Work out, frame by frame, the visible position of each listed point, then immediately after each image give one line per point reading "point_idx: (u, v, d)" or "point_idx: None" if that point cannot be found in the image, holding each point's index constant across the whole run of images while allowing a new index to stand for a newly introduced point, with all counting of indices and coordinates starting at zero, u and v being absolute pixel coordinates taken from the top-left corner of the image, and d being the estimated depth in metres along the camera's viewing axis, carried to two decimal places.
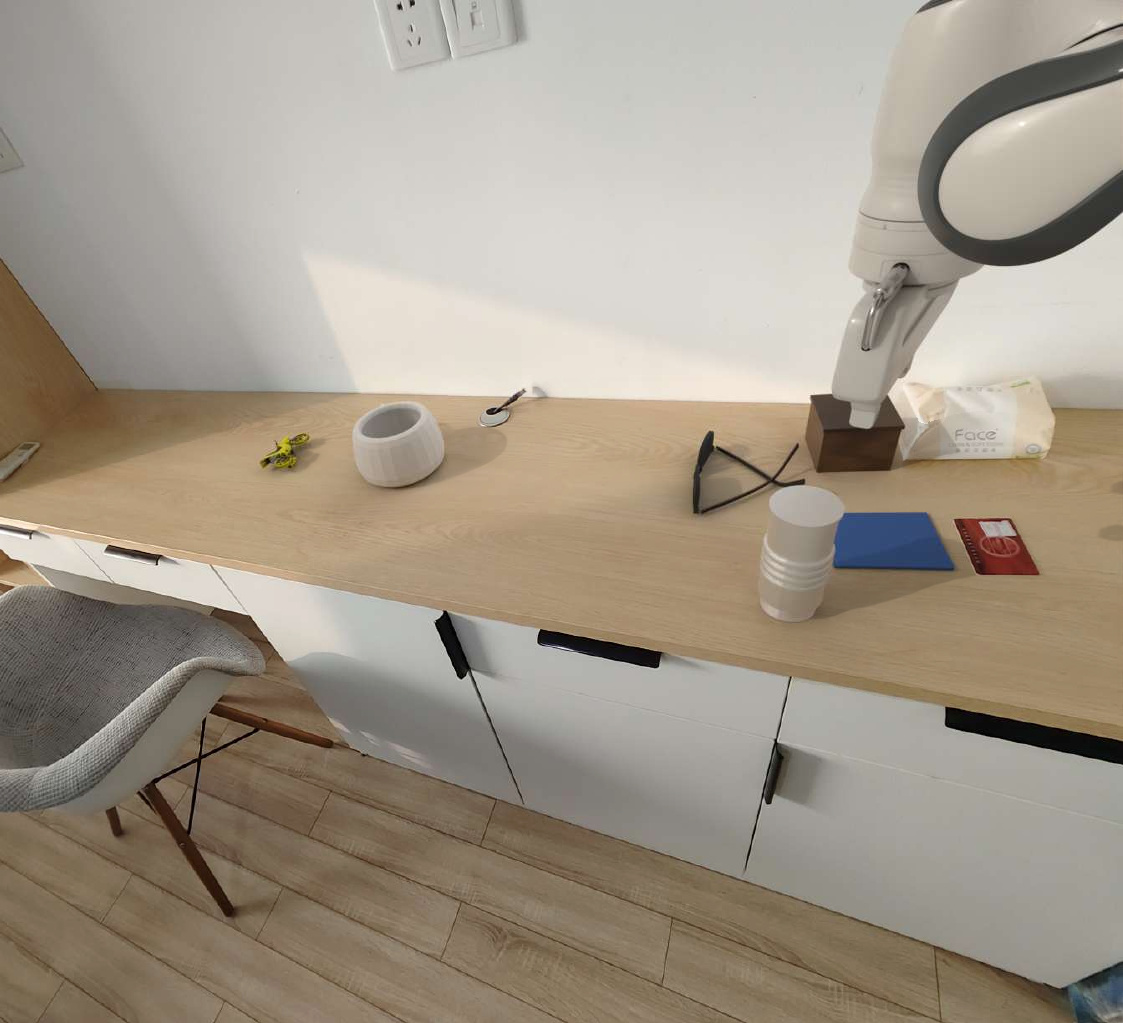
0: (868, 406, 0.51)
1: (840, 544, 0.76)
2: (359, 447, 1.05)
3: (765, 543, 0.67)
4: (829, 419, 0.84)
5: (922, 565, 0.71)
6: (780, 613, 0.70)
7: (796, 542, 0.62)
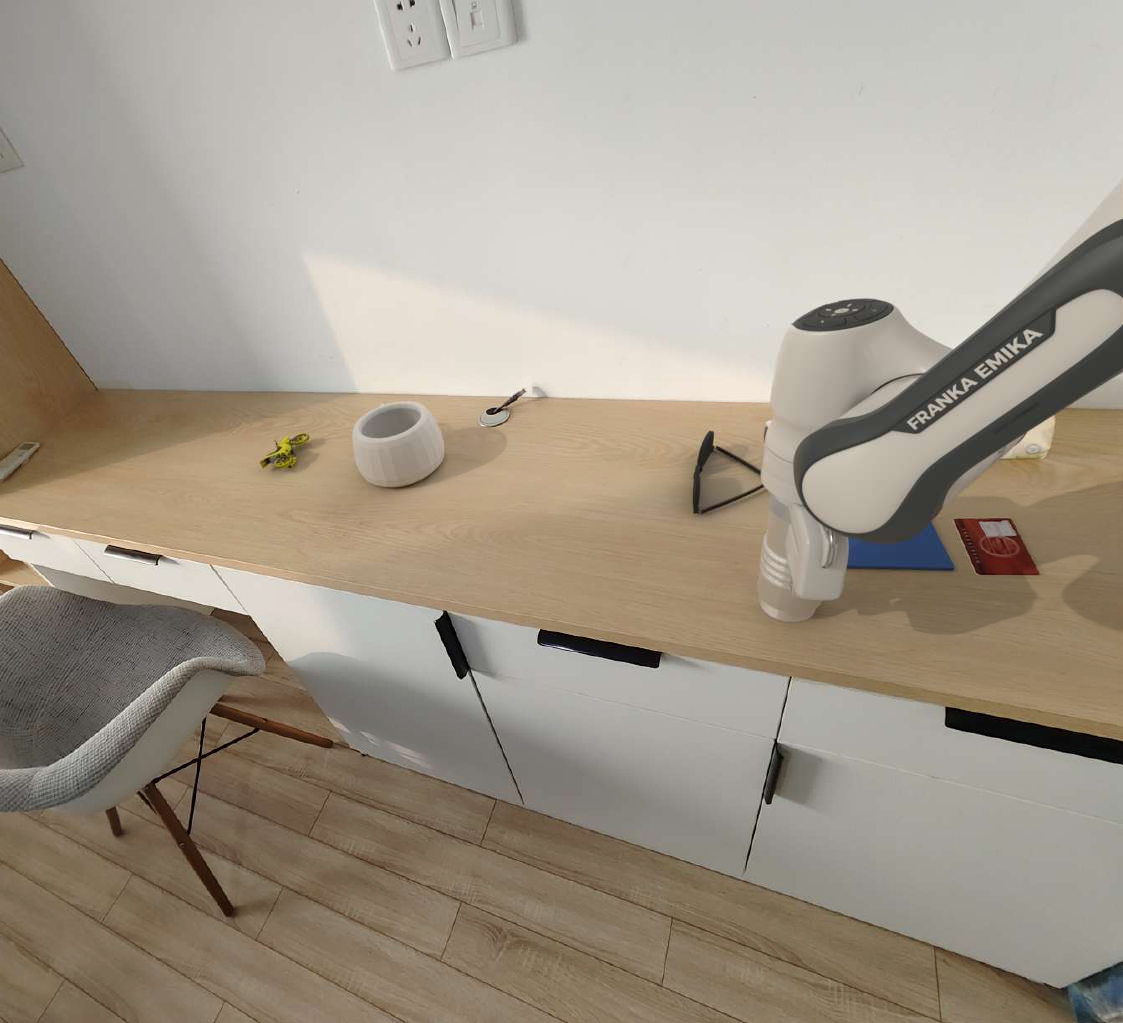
0: None
1: None
2: (359, 447, 1.05)
3: (765, 543, 0.67)
4: None
5: (922, 565, 0.71)
6: (780, 613, 0.70)
7: None
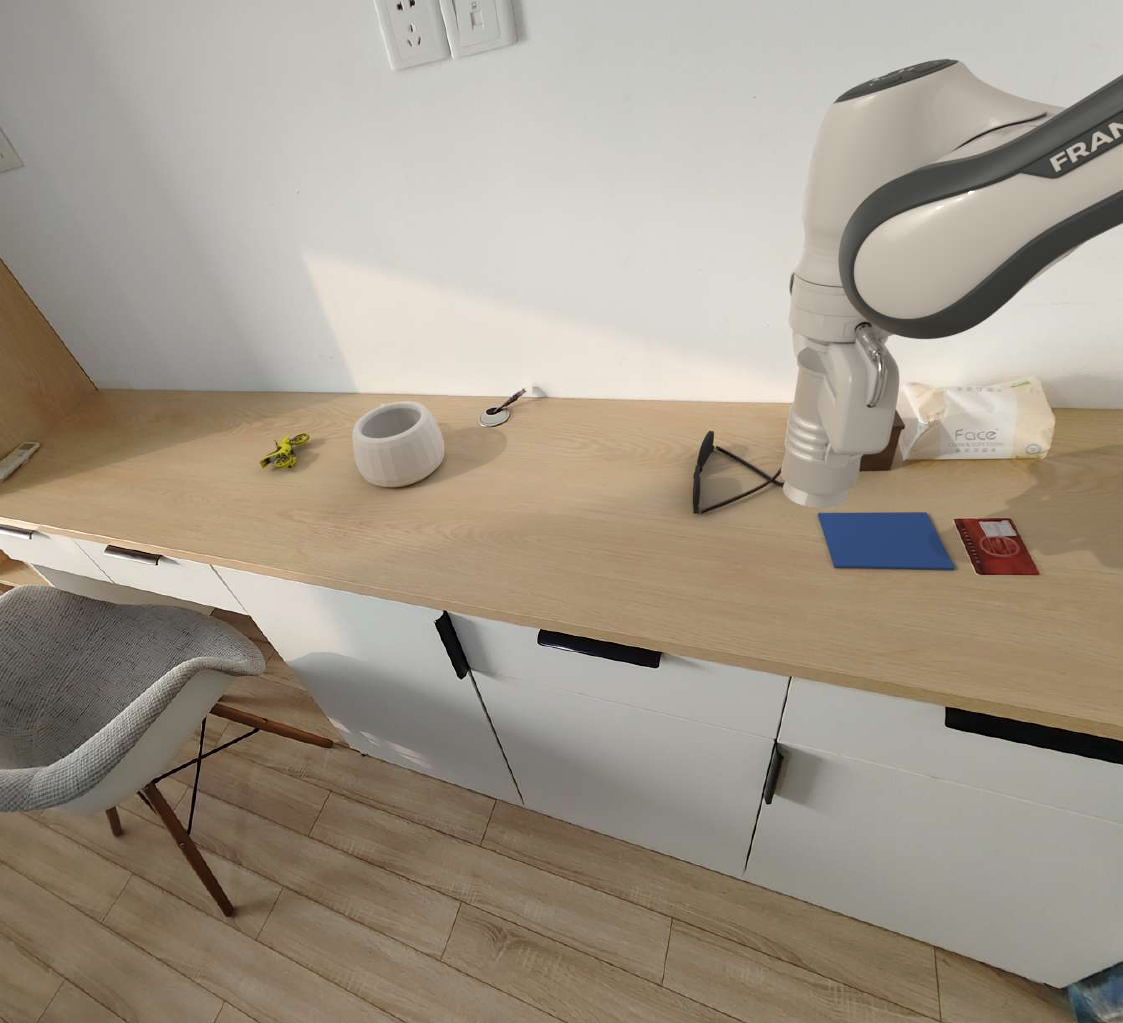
0: None
1: (840, 544, 0.76)
2: (359, 447, 1.05)
3: (792, 412, 0.58)
4: None
5: (922, 565, 0.71)
6: (808, 498, 0.61)
7: None
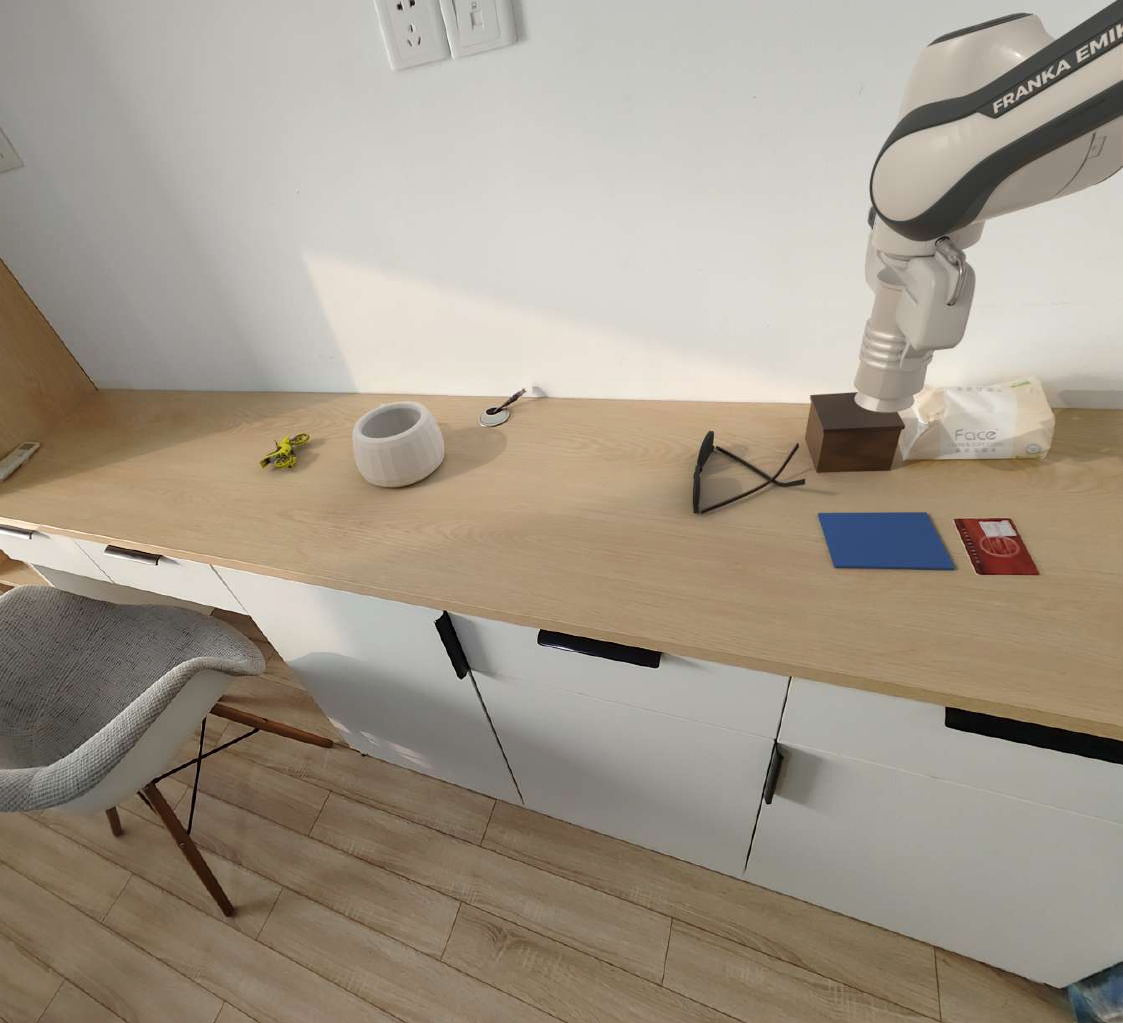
0: (921, 352, 0.63)
1: (840, 544, 0.76)
2: (359, 447, 1.05)
3: (869, 326, 0.68)
4: (829, 419, 0.84)
5: (922, 565, 0.71)
6: (879, 404, 0.71)
7: None
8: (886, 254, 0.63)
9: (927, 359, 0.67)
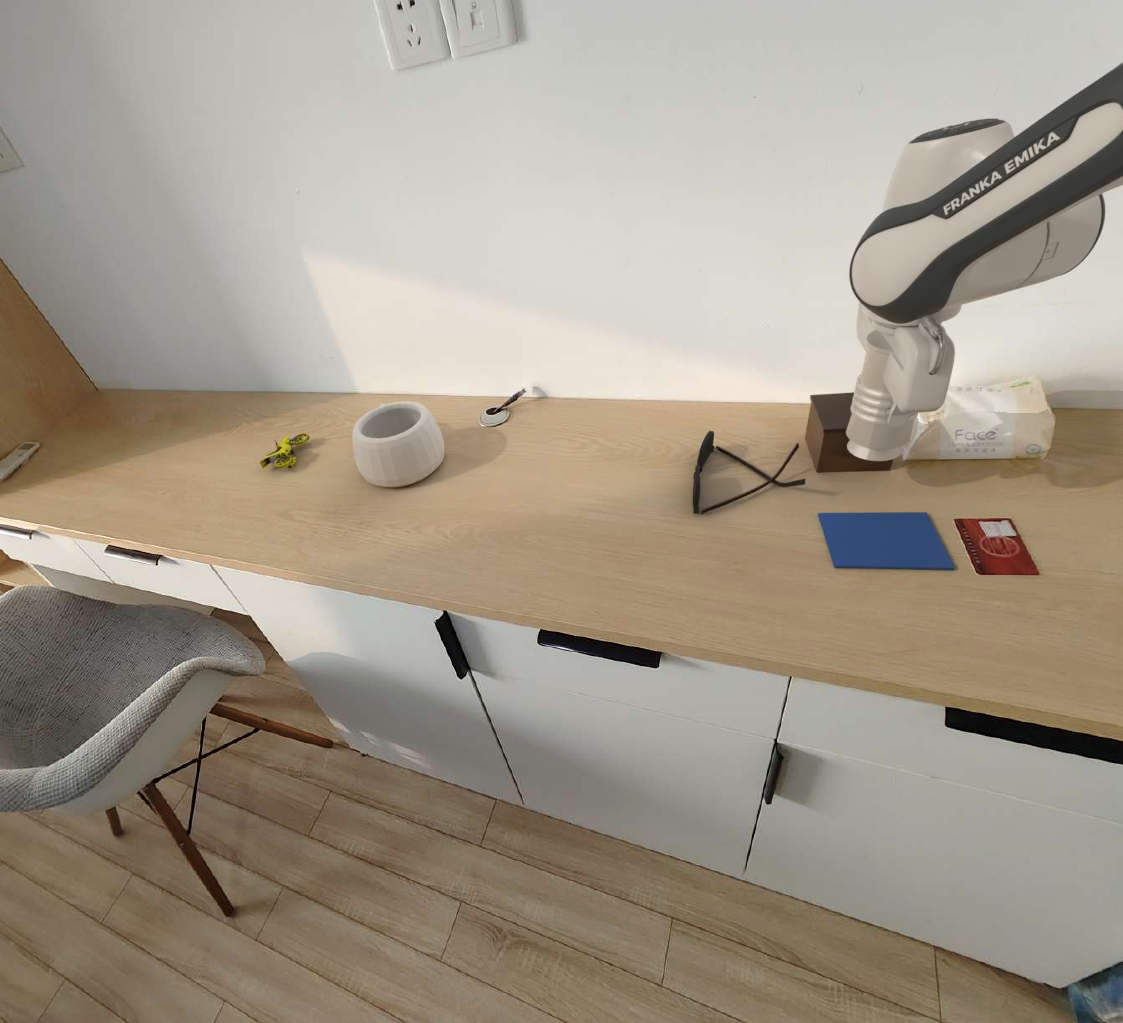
0: None
1: (840, 544, 0.76)
2: (359, 447, 1.05)
3: (859, 383, 0.73)
4: (829, 419, 0.84)
5: (922, 565, 0.71)
6: (869, 453, 0.76)
7: None
8: (875, 320, 0.68)
9: (913, 414, 0.72)
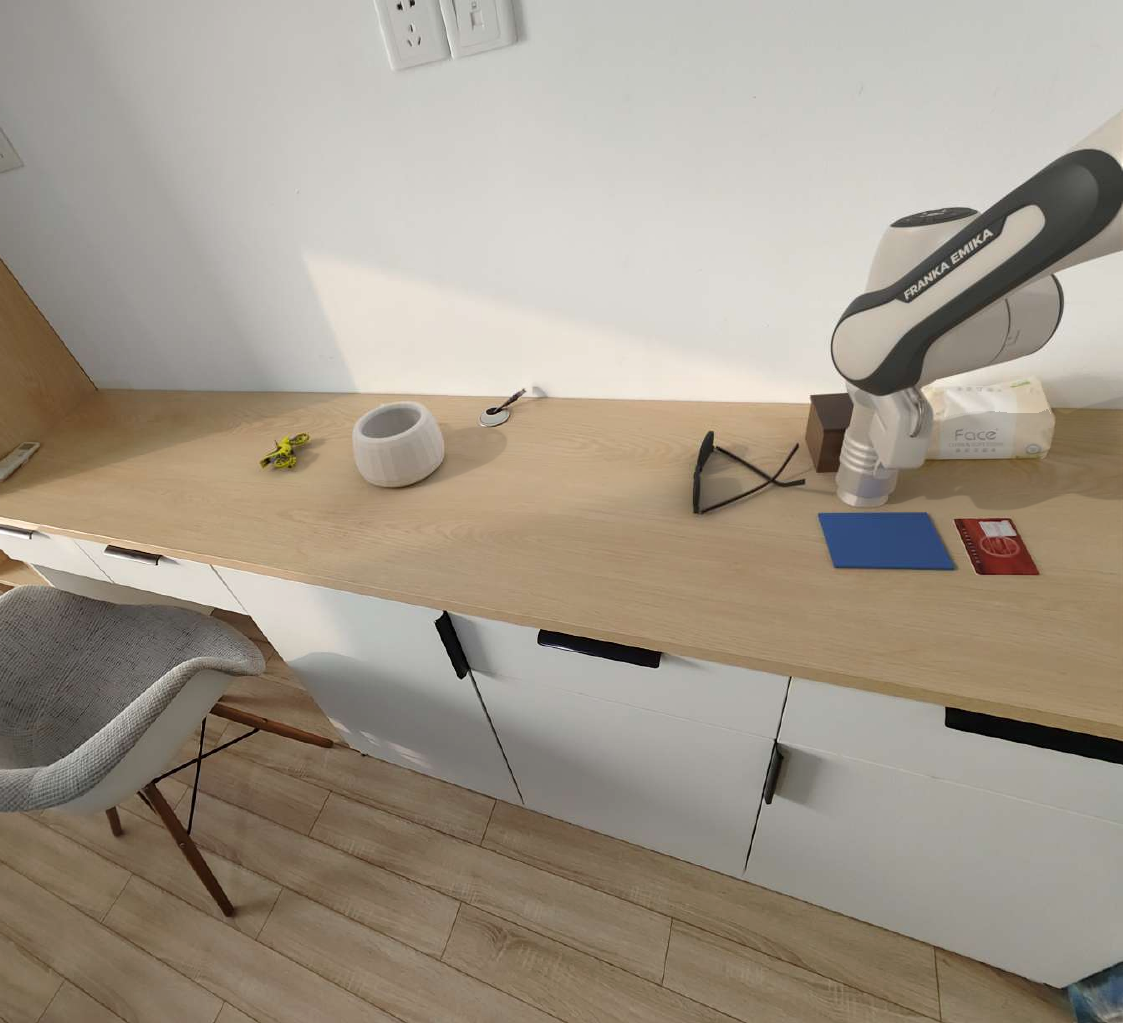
0: None
1: (840, 544, 0.76)
2: (359, 447, 1.05)
3: (847, 436, 0.78)
4: (829, 419, 0.84)
5: (922, 565, 0.71)
6: (857, 500, 0.81)
7: None
8: None
9: None
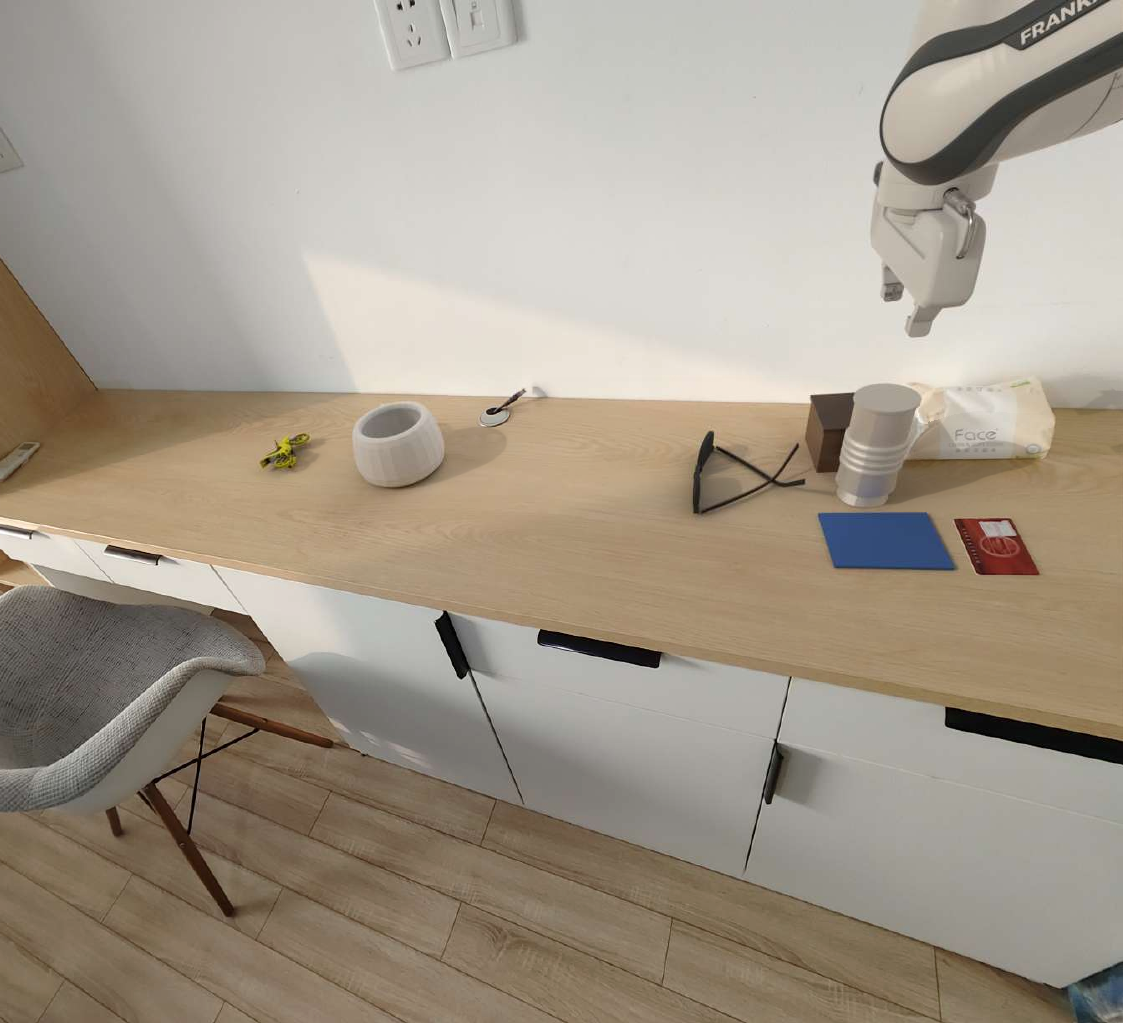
0: (930, 315, 0.60)
1: (840, 544, 0.76)
2: (359, 447, 1.05)
3: (847, 436, 0.78)
4: (829, 419, 0.84)
5: (922, 565, 0.71)
6: (857, 500, 0.81)
7: (879, 428, 0.73)
8: (892, 211, 0.60)
9: (898, 466, 0.76)
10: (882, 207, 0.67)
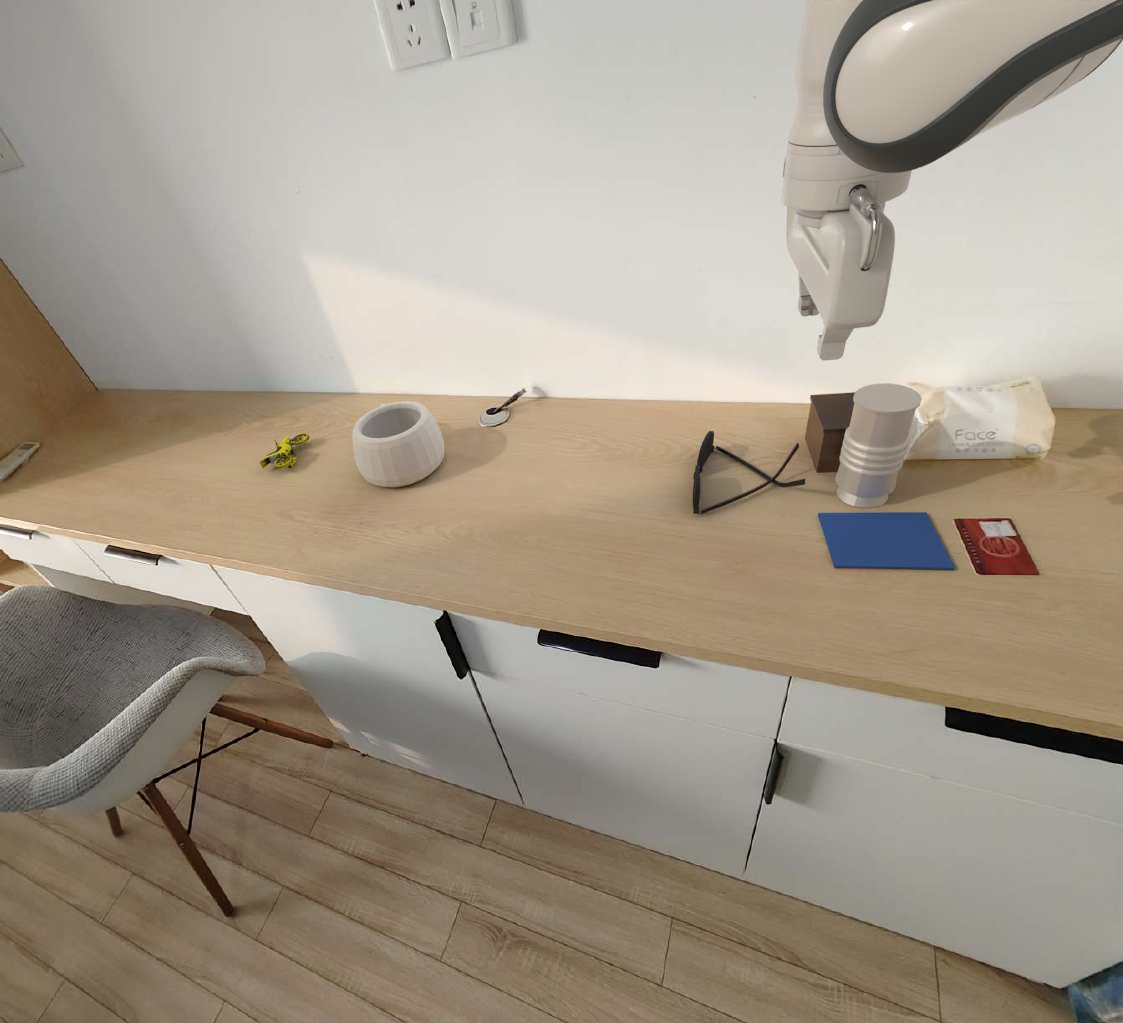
0: (842, 335, 0.51)
1: (840, 544, 0.76)
2: (359, 447, 1.05)
3: (847, 436, 0.78)
4: (829, 419, 0.84)
5: (922, 565, 0.71)
6: (857, 500, 0.81)
7: (879, 428, 0.73)
8: (797, 212, 0.51)
9: (898, 466, 0.76)
10: None
